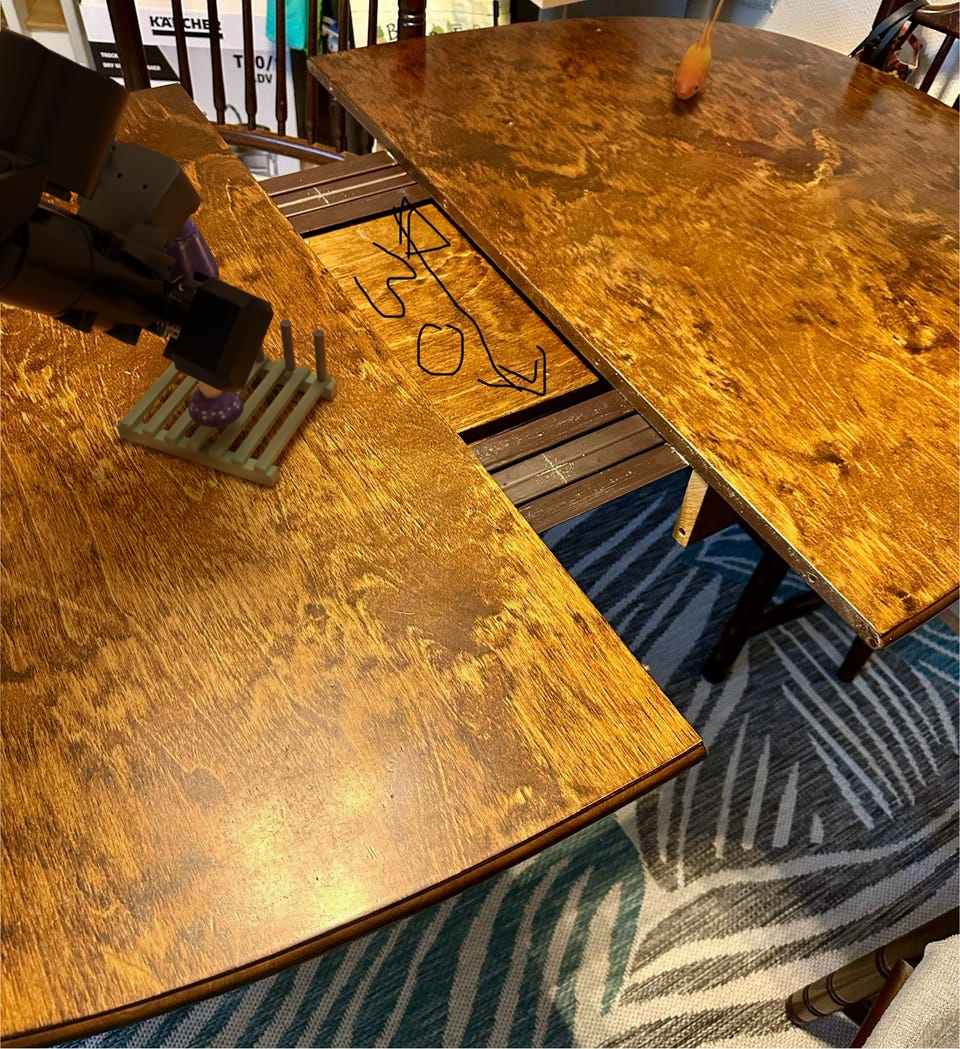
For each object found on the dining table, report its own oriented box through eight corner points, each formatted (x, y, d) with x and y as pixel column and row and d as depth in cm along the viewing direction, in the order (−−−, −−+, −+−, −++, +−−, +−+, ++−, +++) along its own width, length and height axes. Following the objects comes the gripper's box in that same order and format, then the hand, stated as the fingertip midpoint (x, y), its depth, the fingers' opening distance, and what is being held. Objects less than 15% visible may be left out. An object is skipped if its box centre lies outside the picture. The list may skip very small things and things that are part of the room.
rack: (119, 437, 74) (98, 374, 69) (196, 349, 82) (183, 285, 76) (272, 488, 72) (263, 426, 67) (337, 392, 79) (333, 330, 74)
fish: (694, 131, 117) (715, 55, 109) (654, 121, 118) (671, 44, 110) (729, 53, 129) (750, -21, 121) (692, 44, 130) (710, -30, 122)
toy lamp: (234, 435, 70) (200, 250, 57) (174, 429, 70) (126, 241, 57) (249, 394, 73) (220, 208, 60) (192, 387, 73) (150, 200, 60)
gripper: (234, 183, 47) (357, 262, 62) (-22, 76, 52) (150, 174, 67) (158, 378, 49) (296, 409, 64) (-84, 257, 54) (97, 313, 68)
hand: (209, 320), depth 66 cm, fingers closed on toy lamp, 4 cm apart
